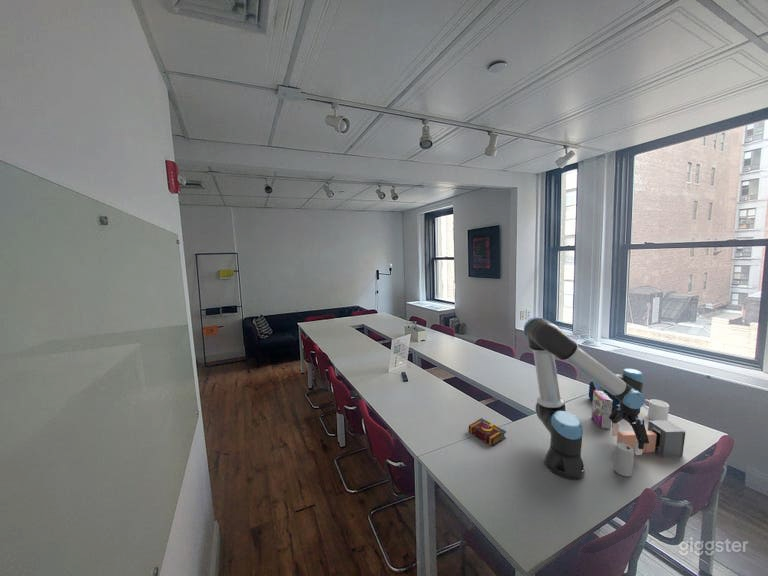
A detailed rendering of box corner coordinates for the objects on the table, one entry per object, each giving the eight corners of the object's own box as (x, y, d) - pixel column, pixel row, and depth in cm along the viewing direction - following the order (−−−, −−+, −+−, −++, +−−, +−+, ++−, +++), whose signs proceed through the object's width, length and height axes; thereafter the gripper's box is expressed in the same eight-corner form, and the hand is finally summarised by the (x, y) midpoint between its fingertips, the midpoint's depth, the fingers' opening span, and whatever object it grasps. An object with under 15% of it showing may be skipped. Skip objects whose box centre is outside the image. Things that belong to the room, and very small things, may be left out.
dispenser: (663, 456, 139) (666, 431, 138) (646, 444, 148) (648, 420, 147) (682, 456, 139) (685, 431, 138) (664, 443, 148) (666, 420, 147)
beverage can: (633, 480, 126) (635, 453, 125) (613, 474, 129) (616, 448, 128) (630, 470, 131) (633, 445, 130) (612, 465, 135) (614, 440, 133)
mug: (644, 410, 178) (646, 395, 177) (670, 421, 167) (672, 404, 166) (636, 413, 175) (638, 397, 173) (662, 424, 164) (664, 407, 162)
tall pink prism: (621, 453, 142) (622, 435, 141) (616, 448, 145) (617, 431, 144) (654, 452, 142) (656, 434, 141) (649, 447, 145) (650, 430, 144)
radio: (586, 398, 193) (588, 368, 191) (598, 397, 194) (601, 367, 192) (614, 416, 173) (617, 383, 170) (628, 415, 174) (631, 382, 171)
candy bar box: (590, 417, 172) (592, 390, 170) (600, 417, 171) (602, 390, 169) (600, 428, 161) (603, 399, 159) (611, 429, 160) (613, 400, 158)
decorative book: (492, 447, 148) (492, 438, 147) (466, 431, 161) (466, 423, 161) (506, 439, 155) (506, 430, 154) (479, 424, 168) (479, 416, 167)
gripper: (663, 417, 128) (658, 462, 131) (617, 389, 153) (613, 428, 155) (645, 417, 128) (640, 463, 131) (602, 389, 153) (599, 428, 155)
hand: (626, 444), depth 143 cm, fingers open, 13 cm apart
